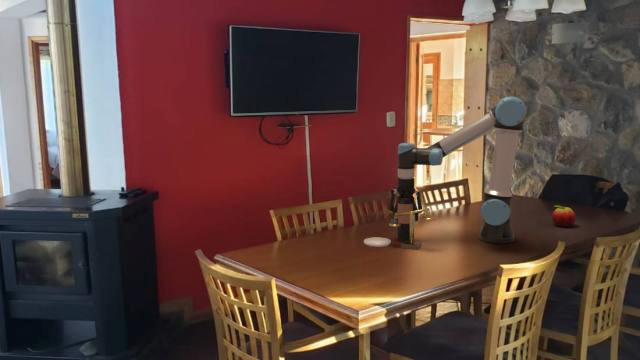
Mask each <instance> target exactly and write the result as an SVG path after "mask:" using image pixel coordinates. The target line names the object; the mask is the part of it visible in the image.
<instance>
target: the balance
mask: <svg viewBox="0 0 640 360" xmlns="http://www.w3.org/2000/svg"><path fill="white" fill-rule="evenodd" d="M430 210H431V209H430V207H428V208H424V209H423V208H422V210H416V211H410V212H406V213H400V214H395V215H394V218H393V217H392V218H391V219H390V223H388V226H389V227H395V228H398V226H400V225H401V224H400V223H398V218H395V217H397V216H402V215H408V214H410V241H408V240H406V241H404V242H401V249H405V250H407V249H408V250H413V251H417V250H419V249H420V248H421V247H422V241H413V221H414V214H415V213H418V212H422V213H424V212H428V216H423V217H422V220H425V221H435V220H436V217H435V216H430V213H431V212H430Z"/></svg>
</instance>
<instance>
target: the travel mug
mask: <svg viewBox="0 0 640 360" xmlns="http://www.w3.org/2000/svg"><path fill="white" fill-rule="evenodd" d="M397 201H398V211H397V212H398V214H400V213H406V212H410V211H414V210H413V202H414V201H415V197H414V198H412V199H407V198H402V199H401V198H398V197H397ZM397 218H398V223H400V224H401V225H400V226H398V227H397V241H398V242H400V243H403V242H404V241H406V240H408V241H410V214H408V215H402V216H398V217H397ZM414 240H415V229H413V241H414Z"/></svg>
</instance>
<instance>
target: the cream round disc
mask: <svg viewBox="0 0 640 360" xmlns="http://www.w3.org/2000/svg"><path fill="white" fill-rule="evenodd" d="M391 241H392V240H391V239H389V238H387V237H380V236H379V237H378V236H377V237H376V236H374V237H367V238H365V239H363V244H364V245H365V246H367V247H371V248H372V247H373V248H381V247H382V248H383V247H387V246H390V245H391V244H392V243H391Z"/></svg>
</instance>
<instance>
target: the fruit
mask: <svg viewBox="0 0 640 360" xmlns="http://www.w3.org/2000/svg"><path fill="white" fill-rule="evenodd" d="M553 207H555V210H553V212H552V215H551V218H552V222H553V224H555V226H557V227H559V228H569V227H571V226H573V225H574V224H575V222H576V213H575V212H574V211H573V209H572V208H570V207H565V206H562V205H557V204H556V205H553Z"/></svg>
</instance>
